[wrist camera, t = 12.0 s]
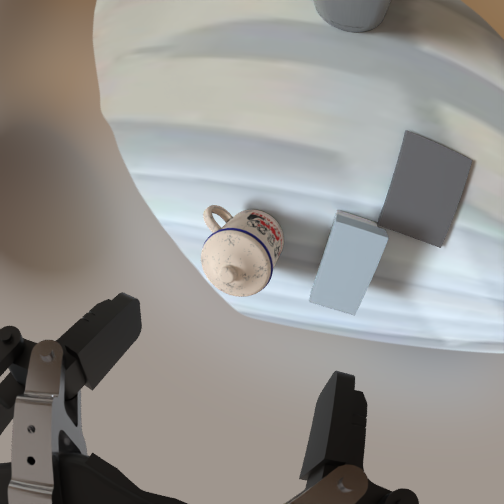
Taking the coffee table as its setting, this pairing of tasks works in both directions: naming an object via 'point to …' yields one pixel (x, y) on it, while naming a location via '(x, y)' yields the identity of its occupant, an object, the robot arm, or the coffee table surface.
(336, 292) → the lid
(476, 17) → the coffee table surface
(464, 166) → the mat
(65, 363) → the robot arm
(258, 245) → the teacup with lid
